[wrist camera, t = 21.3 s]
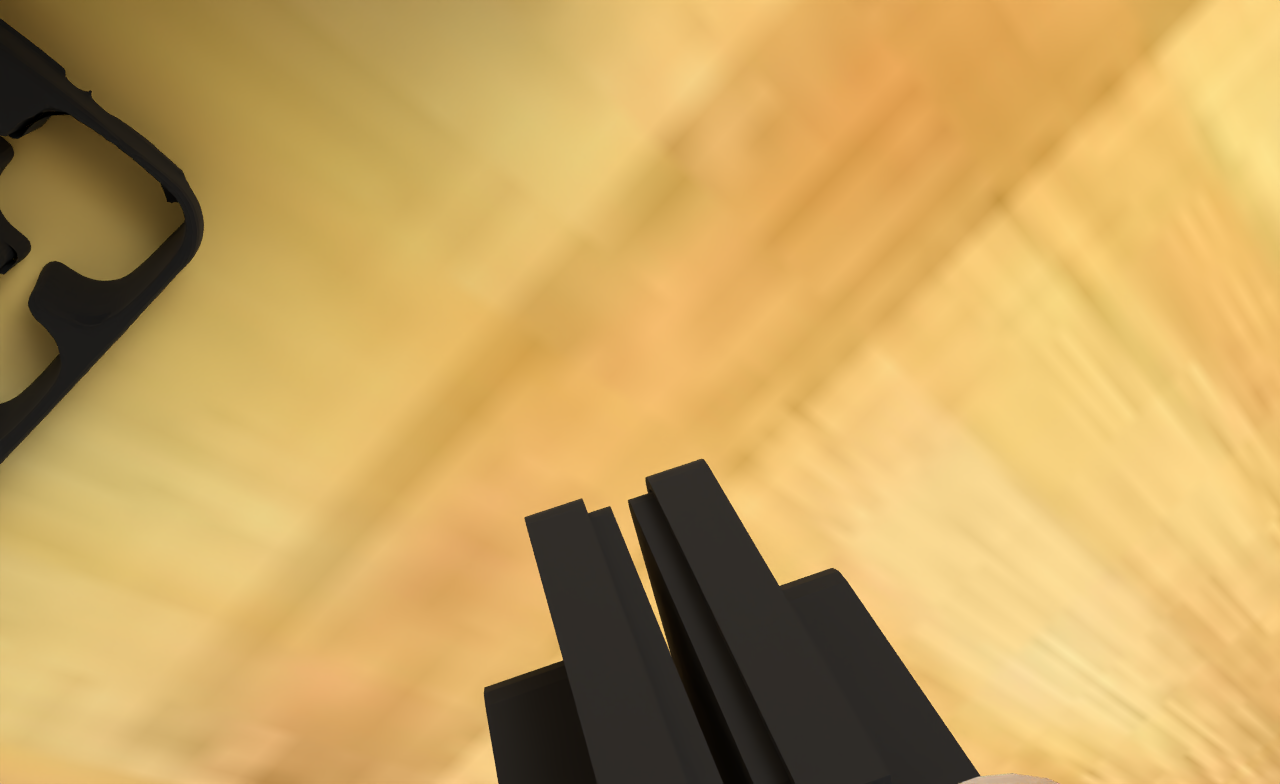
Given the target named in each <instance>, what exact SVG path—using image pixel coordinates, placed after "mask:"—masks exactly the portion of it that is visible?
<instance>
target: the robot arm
mask: <svg viewBox="0 0 1280 784" xmlns="http://www.w3.org/2000/svg"><path fill="white" fill-rule="evenodd" d="M646 486H647V491H648V494H645V495H642V496H639V497H636V498H633V499H630V500H628V503H629V508H630V512H631V516H632V519H633V523H634V526H635V530H636V533H637V537H638V540H639V544H640V547H641V551H642V554H643V558H644V561H645V565H646V568H647V572H648V575H649V579H650V582H651V586H652V589H653V593H654V597H655V600H656V604H657V607H658V611H659V614H660V618H661V621H662V625H663V628H664V632H665V635H666V639H667V642H668V646H669V649H670V652H669V649H668V647H667V644H666V642H665V639H664V637H663V634H662V632H661V630H660V627H659V625H658V622H657V620H656V617H655V615H654V612H653V610H652V607H651V605H650V603H649V600H648V598H647V595H646V593H645V590H644V588H643V585H642V583H641V580H640V578H639V576H638V573H637V571H636V568H635V566H634V563H633V561H632V558H631V556H630V553H629V551H628V549H627V546H626V544H625V541H624V539H623V536H622V534H621V531H620V529H619V526H618V524H617V522H616V519H615V517H614V514H613V512H612V509H611V507H610V506H609V507H606V508H603V509H600V510H597V511H594V512H591V513H588V512H587V510H586V507H585V504H584V502H583V499H579V500H576V501H572V502H569V503H566V504H563V505H560V506H557V507H554V508H551V509H548V510H545V511H542V512H539V513H536V514H533V515H530V516H527V517H525V522H526V526H527V530H528V533H529V537H530V541H531V544H532V548H533V551H534V555H535V559H536V562H537V566H538V570H539V573H540V577H541V581H542V584H543V588H544V592H545V595H546V599H547V603H548V606H549V610H550V613H551V617H552V621H553V624H554V628H555V632H556V635H557V639H558V643H559V646H560V650H561V654H562V657H563V661H560V662H557V663H554V664H552V665H549V666H546V667H543V668H540V669H537V670H534V671H531V672H528V673H525V674H523V675H520V676H517V677H514V678H511V679H508V680H505V681H502V682H499V683H496V684H493V685H491V686H488V687H485V688H484V699H485V707H486V713H487V719H488V724H489V730H490V736H491V742H492V748H493V754H494V760H495V766H496V771H497V777H498V783H499V784H1060V783H1057V782H1055V781H1052V780H1050V779H1047V778H1041V777H1034V776H1027V775H1020V774H1013V773H1011V774H1001V775H990V776H980V775H979V773H978V772H977V770H976V769H975V767H974V766H973V764H972V763H971V761H970V760H969V759H968V757H967V756H966V754H965V753H964V751H963V750H962V748H961V747H960V745H959V744H958V742H957V741H956V740H955V738H954V737H953V735H952V734H951V732H950V731H949V729H948V728H947V726H946V725H945V724H944V722H943V721H942V719H941V718H940V716H939V715H938V713H937V712H936V710H935V709H934V707H933V706H932V705H931V703H930V702H929V700H928V699H927V697H926V696H925V694H924V693H923V691H922V690H921V688H920V687H919V686H918V684H917V683H916V681H915V680H914V678H913V677H912V675H911V674H910V672H909V671H908V669H907V668H906V667H905V665H904V664H903V662H902V661H901V659H900V658H899V656H898V655H897V653H896V652H895V650H894V649H893V648H892V646H891V645H890V643H889V642H888V640H887V639H886V637H885V636H884V634H883V633H882V632H881V630H880V629H879V627H878V626H877V624H876V623H875V621H874V620H873V618H872V617H871V615H870V614H869V613H868V611H867V610H866V608H865V607H864V605H863V604H862V602H861V601H860V599H859V598H858V596H857V595H856V594H855V592H854V591H853V589H852V588H851V586H850V585H849V583H848V582H847V581H846V579H845V578H844V577H843V576H842V574H841V573H840V572H839V571H838V570H836V569H834V568H830V569H827V570H825V571H822V572H819V573H816V574H813V575H810V576H807V577H804V578H801V579H798V580H796V581H793V582H790V583H787V584H784V585H781V586H779V585H778V583H777V581H776V580H775V578H774V576H773V575H772V573H771V571H770V570H769V568H768V566H767V564H766V563H765V561H764V559H763V558H762V556H761V554H760V553H759V551H758V549H757V547H756V546H755V544H754V542H753V541H752V539H751V537H750V536H749V534H748V532H747V531H746V529H745V527H744V525H743V524H742V522H741V520H740V519H739V517H738V515H737V514H736V512H735V510H734V508H733V507H732V505H731V503H730V502H729V500H728V498H727V497H726V495H725V493H724V492H723V490H722V488H721V486H720V485H719V483H718V481H717V480H716V478H715V476H714V475H713V473H712V471H711V469H710V468H709V466H708V464H707V463H706V462H705V460H704V459H700V460H697V461H694V462H691V463H688V464H685V465H682V466H679V467H676V468H672V469H669V470H666V471H663V472H660V473H657V474H654V475H651V476H648V477H646ZM670 653H671V654H670ZM671 656H672V657H671Z"/></svg>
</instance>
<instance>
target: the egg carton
mask: <svg viewBox="0 0 1280 784" xmlns="http://www.w3.org/2000/svg"><path fill="white" fill-rule="evenodd" d="M91 92H92V91H89V92H85V91H82V90H80V89H78V88H77V87H75V86H74V85H73V84H72V83H71V82H69V80H68V79H67V78H66V77H65V69H64V68H63V67H62V66H60V65H59V64H58V63H57V62H56V61H54V60H53V59H52V58H51V57H49V56H48V55H47V54H46V53H44V52H43V51H42V50H41V49H39V48H38V47H37V46H36V45H34V44H33V43H32V42H30V41H29V40H28V39H27V38H25V37H24V36H23V35H21V34H20V33H19V32H17V31H16V30H15V29H13V28H12V27H11V26H9V25H8V24H7V23H5V22H4V21H3V20H2V19H0V175H1V173H2V171H3V170H4V169H5V167H6V166H7V165H8V163H9V162H10V161H11V160H12V158H13V156H14V150H13V147H12V146H11V144H10V143H9V142H8V141H6V140H5V139H4V138H2V137H1V136H7V135H8V136H10V137H11V138H13V139H18V138H20V137H22V136H24V135H26V134H28V133H30V132H32V131H34V130H36V129H38V128H40V127H41V126H42V125H43V124H44V123H45V122H46V121H47V120H48V119H49V118H50V117H51V116H53V115H71V116H73V117H74V118H76V119H77V120H78V121H80V122H82V123H83V124H85V125H87V126H88V127H90V128H91V129H93V130H94V131H96V132H97V133H98V134H100V135H102V136H103V137H104V138H105V139H106V140H108V141H110V142H111V143H113V144H114V145H116V146H117V147H118V148H119V149H121V150H122V151H123V152H125V153H126V154H127V155H128V156H130V157H131V158H133V160H135V161H136V162H137V163H138V164H139V165H141V166H142V167H143V168H144V169H145V170H146V171H147V172H148V173H149V174H151V175H152V176H153V177H154V178H155V179H156V180H158V181H159V182H160V183H161V185H162V188H163V190H164V193H165V196H166V199H167V202H171V203H173V202H179V204H180V206H181V208H182V210H183V213H184V216H185V221H184V223H183V224H182V225H181V226H180V227H179V228H178V229H177V230H176V231H175V232H174V233H173V234H172V235H171V236H170V237H169V238H168V239H167V240H166V241H165V242H164V243H163V244H162V245H161V246H160V247H159V248H158V249H157V250H156V251H155V252H154V253H153V254H152V255H151V256H150V257H149V258H148V259H147V260H146V261H145V262H144V263H142V264H141V265H140V266H139V267H138V268H137V269H135V270H134V271H133V272H132V273H130V274H129V275H127V276H125V277H123V278H121V279H117V280H112V281H99V280H93V279H90V278H87V277H84V276H82V275H80V274H78V273H77V272H75V271H73V270H72V269H70V268H69V267H67V266H66V265H64V264H62V263H61V262H56V261H54V262H49V263H48V264H46V265H45V266H44V267H43V269H42V271H41V273H40V275H39V278H38V280H37V283H36V285H35V287H34V290H33V291H32V292H31V295H30V298H29V302H28V306H29V309H30V311H31V313H32V315H33V316H34V318H35V319H36V320H37V321H38V322H39V323H40V324H42V325H43V326H44V327H45V328H46V329H47V331H48V332H49V333H50V334H51V336H52V337H53V338H54V340H55V341H56V343H57V346H58V349H59V355H58V356H57V357H56V358H55V359H54V361H53V362H52V363H51V364H50V365H49V366H48V367H47V368H46V370H45V371H44V372H43V373H42V374H41V375H40V376H39V377H38V378H37V379H36V380H35V381H34V382H33V383H32V384H31V385H30V386H29V387H28V388H26V389H25V390H24V391H23V392H22V393H21V394H20V395H18V396H17V397H15V398H14V399H12V400H10V401H7V402H5V403H1V404H0V464H1V463H2V462H3V461H4V460H5V459H6V458H7V457H8V456H9V454H10V453H11V452H12V451H13V450H14V449H15V448H16V447H17V446H18V445H19V444H20V443H21V442H22V441H23V440H24V439H25V438H26V437H27V436H28V435H29V434H30V432H31V431H32V430H33V429H34V428H35V427H36V426H37V425H38V424H39V423H40V422H41V421H42V420H43V419H44V418H45V417H46V416H47V415H48V413H49V412H50V411H51V410H52V409H53V408H54V407H55V406H56V405H57V404H58V403H59V402H60V401H61V400H62V399H63V397H64V396H65V395H66V394H67V393H68V392H69V391H70V390H71V389H72V388H73V387H74V386H75V384H76V383H77V382H78V381H79V380H80V379H81V378H82V377H83V376H84V375H85V374H86V373H87V372H88V371H89V370H90V368H91V367H92V366H93V365H94V364H95V363H96V362H97V361H98V360H99V359H100V358H101V357H102V356H103V354H104V353H105V352H106V351H107V350H108V349H109V348H110V347H111V346H112V345H113V344H114V343H115V342H116V341H117V340H118V339H119V338H120V337H121V336H122V335H123V334H124V333H125V331H126V330H127V329H128V328H129V327H130V325H131V324H132V323H133V322H134V321H135V320H136V319H137V318H138V317H139V315H140V314H141V313H142V312H143V311H144V310H145V309H146V308H147V307H148V306H149V305H150V304H151V302H152V301H153V300H154V299H155V298H156V297H157V296H158V295H159V294H160V293H161V292H162V291H163V290H164V289H165V287H166V286H167V285H168V284H169V283H170V282H171V281H172V280H173V279H174V278H175V277H176V275H177V274H178V273H179V272H180V271H181V270H182V269H183V268H184V267H185V266H186V265H187V264H188V263H189V262H190V261H191V259H192V258H193V257H194V255H195V253H196V252H197V250H198V248H199V246H200V244H201V241H202V237H203V231H204V222H203V215H202V211H201V207H200V205H199V202H198V200H197V198H196V196H195V195H194V193H193V191H192V190H191V188H190V186H189V184H188V182H187V181H186V178H185V176H184V173H183V171H182V170H181V169H179V168H178V167H177V166H176V165H175V164H174V163H173V162H172V161H171V160H170V159H168V158H167V157H166V156H165V155H164V154H163V153H162V152H160V151H159V150H158V149H157V148H156V147H155V146H154V145H153V144H152V143H150V142H149V141H148V140H147V139H146V138H144V137H143V136H142V135H140V134H139V133H138V132H136V131H135V130H134V129H132V128H131V127H130V126H128V125H127V124H125V123H124V122H122V121H121V120H120V119H118V118H116V117H114V116H112V115H110V114H109V113H107V112H106V111H105V110H104V109H102V108H101V107H100V106H99V105H98V104H97V103H96V102H95V101H94V100H93V99H92V97H91ZM48 111H55V112H53V113H51V114H49V115H47V116H46V117H44V118H42V119H40V120H39V121H37V122H36V120H38V118H39V117H40V116H41V115H42V114H43V113H44V112H48ZM32 123H34V124H33V125H31V126H30V128H28V127H26V126H28V125H30V124H32ZM30 250H31V244H30V241H29V240H28V239H27V238H26V237H25V236H24V235H23V234H21V233H20V232H19V231H18V230H16V229H15V228H14V227H13V226H12V225H11V224H10V223H9V222H8V221H7V220H6V218H5V217H4V215H3V214H2V212H1V210H0V274H3V275H4V274H5V273H6V272H7V271H9V270H10V269H11V268H12V267H14V266H15V265H16V264H17V263H19V262H20V261H21V260H22V259H23V258H25V257H26V256H27V255H28V253H29V252H30ZM16 257H18V259H17V260H13V259H14V258H16Z"/></svg>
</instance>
